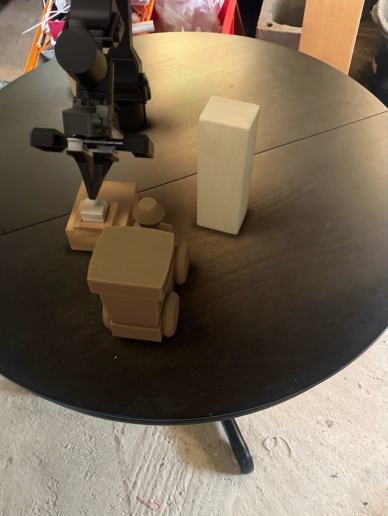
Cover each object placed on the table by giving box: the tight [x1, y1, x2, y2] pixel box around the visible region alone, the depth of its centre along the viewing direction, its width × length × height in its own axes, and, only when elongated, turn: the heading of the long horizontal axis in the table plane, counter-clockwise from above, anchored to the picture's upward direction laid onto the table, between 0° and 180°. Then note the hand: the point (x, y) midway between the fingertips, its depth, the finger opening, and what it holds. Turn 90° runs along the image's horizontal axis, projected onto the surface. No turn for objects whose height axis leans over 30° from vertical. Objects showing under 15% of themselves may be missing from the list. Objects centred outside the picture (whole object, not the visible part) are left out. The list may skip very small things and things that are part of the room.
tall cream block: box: [196, 95, 261, 235], centre depth 79 cm, size 8×7×21 cm
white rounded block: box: [81, 198, 108, 223], centre depth 79 cm, size 4×4×2 cm
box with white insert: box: [65, 179, 140, 252], centre depth 84 cm, size 14×10×6 cm
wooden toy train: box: [86, 196, 190, 343], centre depth 71 cm, size 20×11×17 cm, turn 172°
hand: (92, 200), depth 77 cm, fingers closed
